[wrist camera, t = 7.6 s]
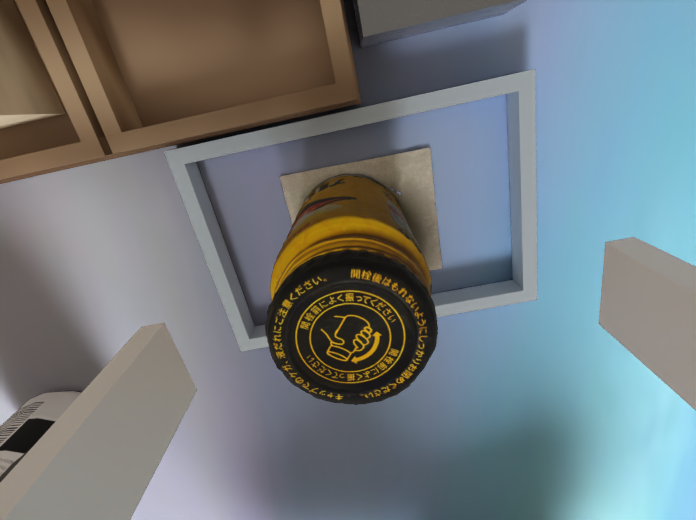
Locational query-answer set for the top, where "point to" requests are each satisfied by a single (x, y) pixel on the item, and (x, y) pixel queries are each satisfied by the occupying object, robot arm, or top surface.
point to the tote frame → (518, 122)
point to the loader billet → (22, 74)
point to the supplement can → (31, 424)
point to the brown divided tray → (175, 74)
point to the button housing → (420, 16)
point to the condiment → (356, 278)
